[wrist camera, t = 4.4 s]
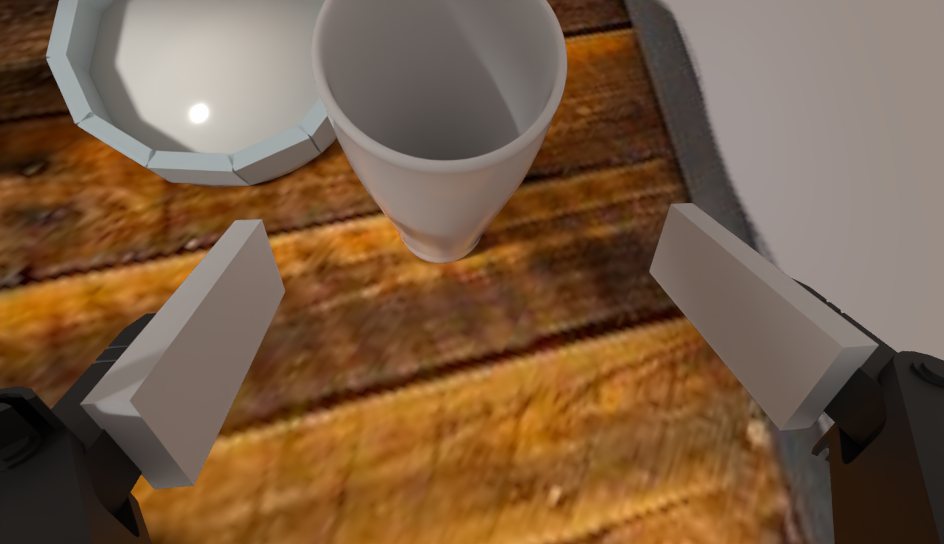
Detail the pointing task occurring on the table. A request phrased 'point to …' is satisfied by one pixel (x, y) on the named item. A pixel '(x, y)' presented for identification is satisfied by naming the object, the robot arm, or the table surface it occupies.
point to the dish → (194, 84)
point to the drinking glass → (439, 107)
